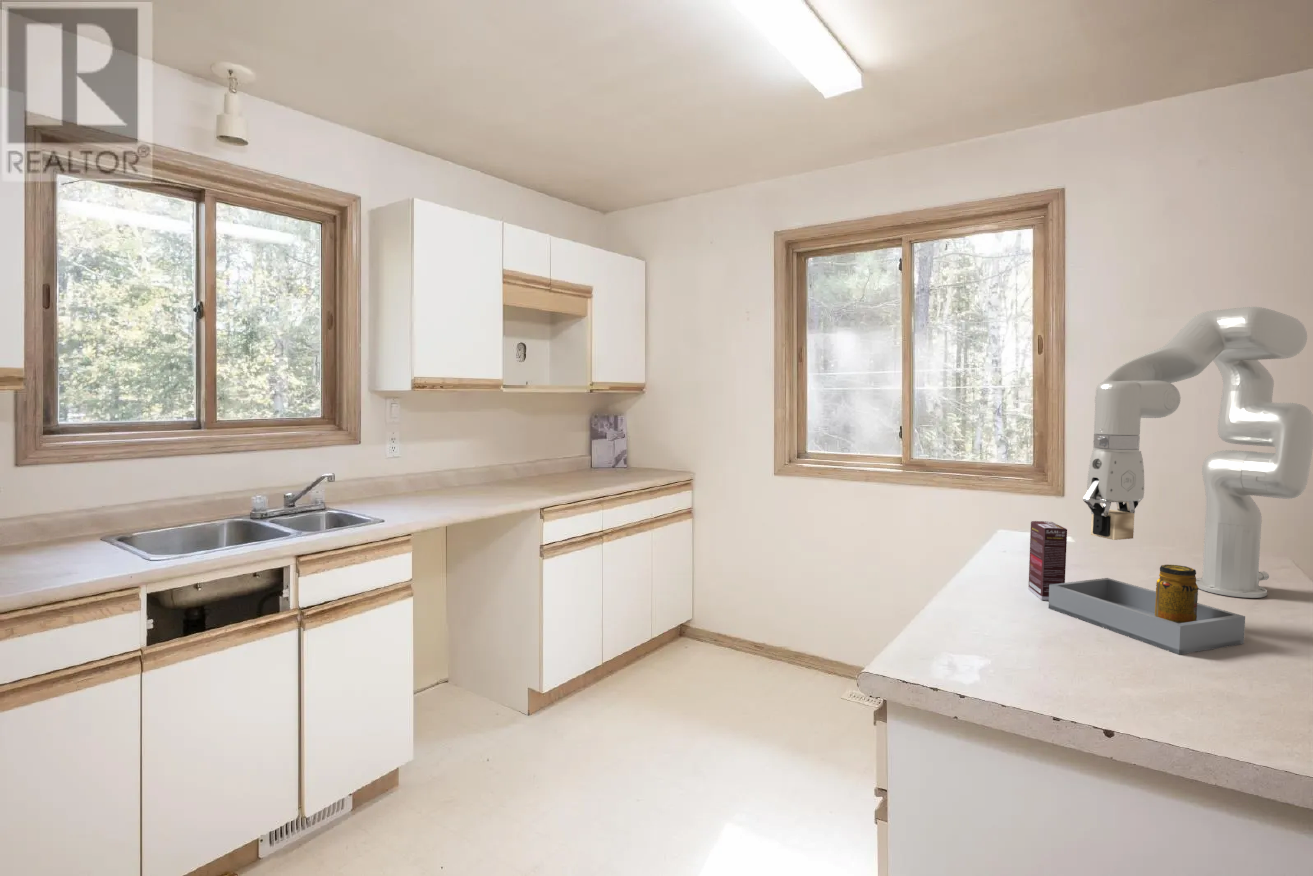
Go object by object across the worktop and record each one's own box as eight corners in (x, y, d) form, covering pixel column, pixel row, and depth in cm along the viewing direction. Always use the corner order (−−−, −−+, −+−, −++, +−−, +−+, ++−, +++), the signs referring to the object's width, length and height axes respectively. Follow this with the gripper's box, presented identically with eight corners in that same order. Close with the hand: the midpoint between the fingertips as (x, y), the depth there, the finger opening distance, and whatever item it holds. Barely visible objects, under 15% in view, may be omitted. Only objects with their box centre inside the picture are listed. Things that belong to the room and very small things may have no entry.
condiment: (1167, 623, 127) (1170, 561, 126) (1218, 638, 119) (1221, 572, 118) (1142, 628, 124) (1144, 565, 123) (1192, 644, 116) (1196, 576, 116)
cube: (1109, 533, 136) (1110, 509, 136) (1133, 538, 132) (1134, 513, 131) (1090, 534, 135) (1091, 510, 135) (1114, 540, 130) (1115, 514, 130)
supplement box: (1065, 602, 143) (1068, 528, 142) (1041, 600, 144) (1043, 528, 143) (1050, 590, 151) (1052, 521, 150) (1027, 589, 152) (1029, 520, 151)
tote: (1106, 600, 143) (1107, 577, 143) (1243, 643, 119) (1245, 616, 118) (1048, 608, 139) (1049, 584, 138) (1178, 654, 114) (1180, 626, 113)
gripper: (1101, 446, 126) (1097, 541, 127) (1166, 444, 131) (1162, 535, 132) (1066, 443, 133) (1062, 533, 134) (1129, 441, 138) (1125, 528, 139)
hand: (1112, 533), depth 133 cm, fingers closed on cube, 5 cm apart
